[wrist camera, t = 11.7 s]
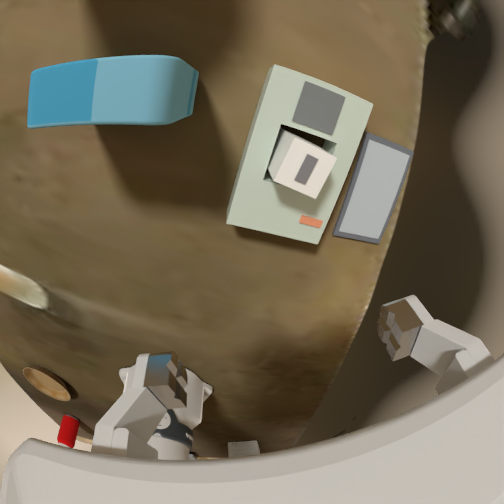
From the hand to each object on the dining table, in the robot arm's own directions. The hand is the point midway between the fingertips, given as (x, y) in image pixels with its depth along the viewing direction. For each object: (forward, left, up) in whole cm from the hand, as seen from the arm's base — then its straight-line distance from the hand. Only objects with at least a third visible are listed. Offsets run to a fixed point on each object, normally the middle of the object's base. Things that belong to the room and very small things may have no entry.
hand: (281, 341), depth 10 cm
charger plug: (+4, -3, -22) cm, 22 cm away
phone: (+3, -15, -22) cm, 27 cm away
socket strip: (+4, -4, -22) cm, 22 cm away
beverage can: (-85, +37, -22) cm, 96 cm away
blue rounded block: (+7, +13, -22) cm, 26 cm away
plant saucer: (-58, +37, -22) cm, 73 cm away
